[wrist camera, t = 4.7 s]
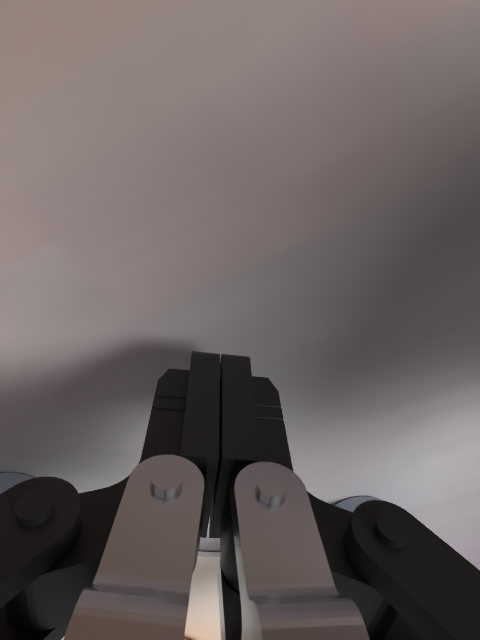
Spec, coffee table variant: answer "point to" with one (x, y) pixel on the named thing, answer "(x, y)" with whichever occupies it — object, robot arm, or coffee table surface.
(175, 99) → the coffee table surface
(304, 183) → the coffee table surface
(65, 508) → the robot arm
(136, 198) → the coffee table surface
